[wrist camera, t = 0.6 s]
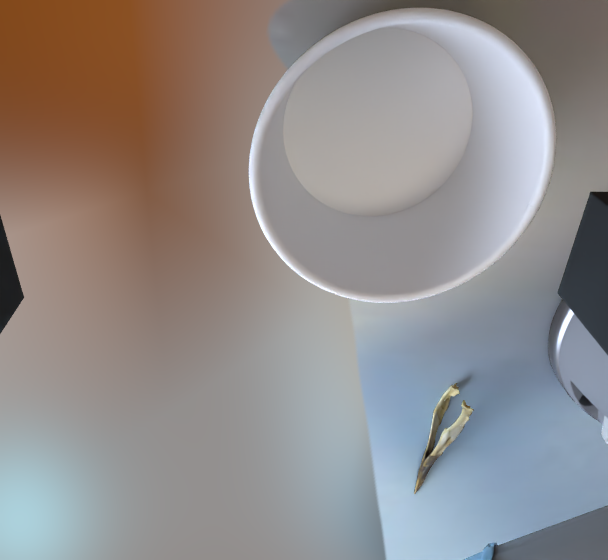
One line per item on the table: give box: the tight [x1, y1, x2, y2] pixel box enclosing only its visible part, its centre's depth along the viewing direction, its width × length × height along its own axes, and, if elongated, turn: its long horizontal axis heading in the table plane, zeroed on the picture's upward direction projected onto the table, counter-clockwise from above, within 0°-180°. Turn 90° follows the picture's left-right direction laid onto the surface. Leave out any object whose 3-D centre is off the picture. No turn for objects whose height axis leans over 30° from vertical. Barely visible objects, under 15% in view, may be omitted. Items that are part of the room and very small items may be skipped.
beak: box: [414, 383, 473, 494], centre depth 39 cm, size 12×3×1 cm
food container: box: [249, 8, 556, 303], centre depth 24 cm, size 12×12×6 cm
